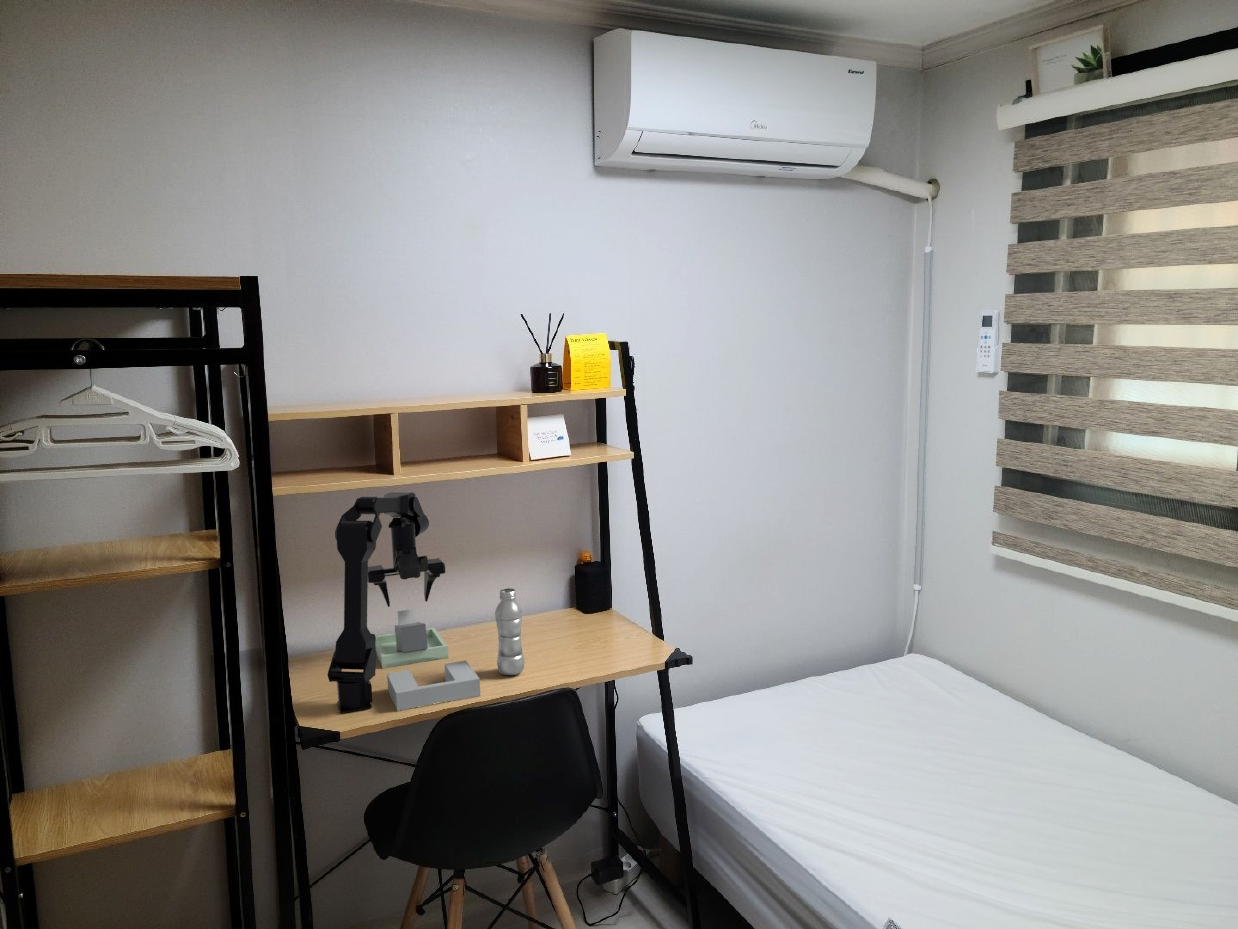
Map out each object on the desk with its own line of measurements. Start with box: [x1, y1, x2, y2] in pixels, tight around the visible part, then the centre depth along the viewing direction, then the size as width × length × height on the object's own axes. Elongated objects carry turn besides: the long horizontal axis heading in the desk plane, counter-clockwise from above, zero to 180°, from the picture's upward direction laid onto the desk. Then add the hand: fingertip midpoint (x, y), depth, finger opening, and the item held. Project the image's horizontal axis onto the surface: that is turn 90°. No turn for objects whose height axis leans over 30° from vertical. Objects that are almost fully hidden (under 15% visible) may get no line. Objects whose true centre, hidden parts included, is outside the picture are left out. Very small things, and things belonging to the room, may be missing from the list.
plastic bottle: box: [494, 587, 526, 676], centre depth 209 cm, size 6×7×20 cm
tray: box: [375, 627, 450, 669], centre depth 225 cm, size 16×16×3 cm
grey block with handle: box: [394, 608, 428, 652], centre depth 222 cm, size 6×10×10 cm, turn 23°
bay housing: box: [386, 659, 481, 712], centre depth 199 cm, size 18×12×4 cm
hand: (407, 603), depth 223 cm, fingers open, 9 cm apart
